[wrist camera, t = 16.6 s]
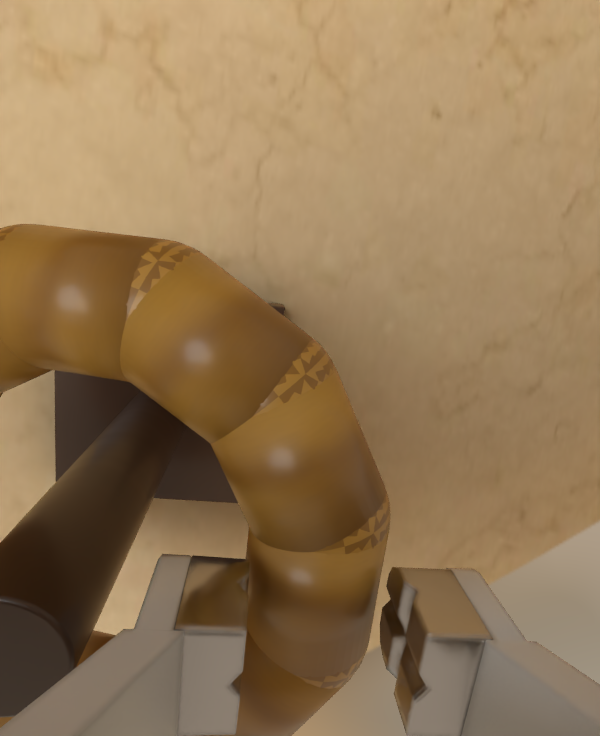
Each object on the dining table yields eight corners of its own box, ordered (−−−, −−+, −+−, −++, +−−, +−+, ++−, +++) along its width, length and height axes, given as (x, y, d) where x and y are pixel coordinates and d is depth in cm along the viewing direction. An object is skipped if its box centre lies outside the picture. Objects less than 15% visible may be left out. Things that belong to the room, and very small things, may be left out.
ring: (424, 271, 9) (449, 270, 6) (340, 746, 11) (334, 886, 9) (-111, 208, 10) (-277, 185, 7) (-77, 648, 12) (-190, 744, 10)
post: (283, 304, 17) (328, 403, 5) (263, 492, 19) (264, 865, 7) (65, 280, 16) (-431, 338, 5) (66, 480, 18) (-288, 880, 6)
